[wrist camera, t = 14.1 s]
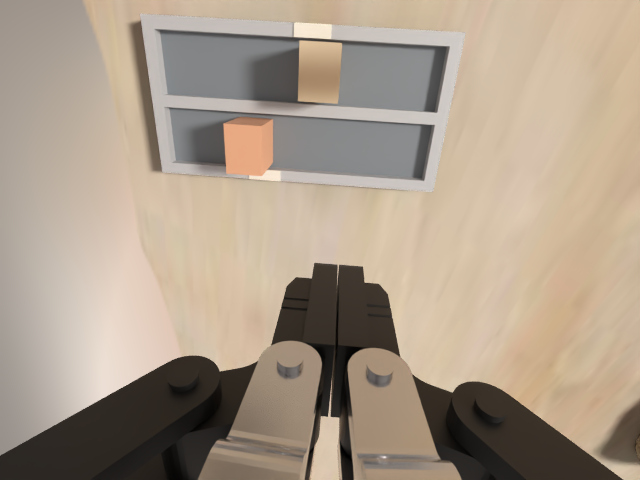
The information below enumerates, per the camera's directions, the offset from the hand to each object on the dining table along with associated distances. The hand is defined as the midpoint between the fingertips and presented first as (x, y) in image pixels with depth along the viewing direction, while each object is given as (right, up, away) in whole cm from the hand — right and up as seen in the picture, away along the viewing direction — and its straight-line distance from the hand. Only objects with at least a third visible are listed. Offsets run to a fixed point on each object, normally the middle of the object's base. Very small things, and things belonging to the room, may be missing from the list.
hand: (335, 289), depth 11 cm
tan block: (0, +16, +19) cm, 25 cm away
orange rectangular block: (-6, +11, +22) cm, 25 cm away
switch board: (-2, +14, +21) cm, 26 cm away
